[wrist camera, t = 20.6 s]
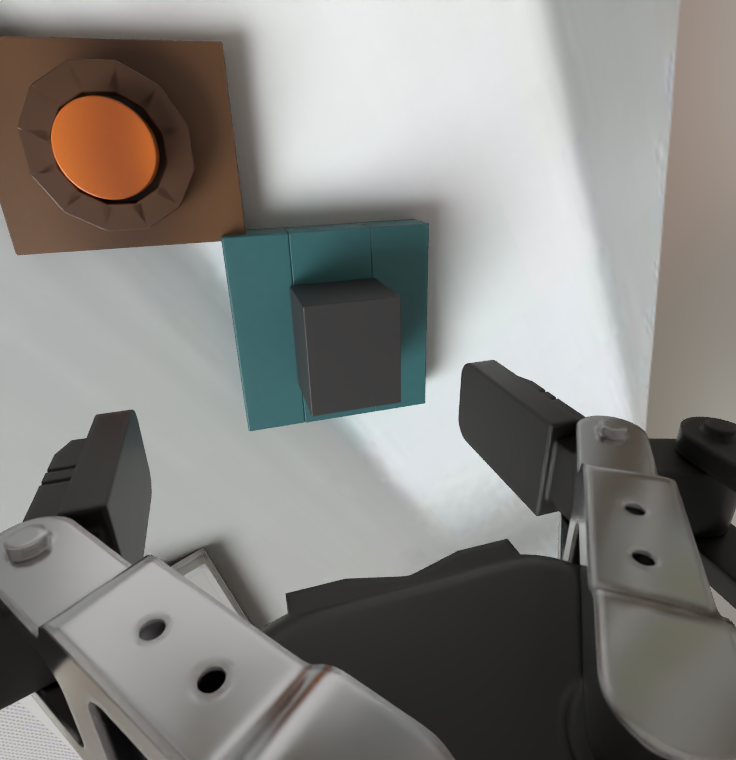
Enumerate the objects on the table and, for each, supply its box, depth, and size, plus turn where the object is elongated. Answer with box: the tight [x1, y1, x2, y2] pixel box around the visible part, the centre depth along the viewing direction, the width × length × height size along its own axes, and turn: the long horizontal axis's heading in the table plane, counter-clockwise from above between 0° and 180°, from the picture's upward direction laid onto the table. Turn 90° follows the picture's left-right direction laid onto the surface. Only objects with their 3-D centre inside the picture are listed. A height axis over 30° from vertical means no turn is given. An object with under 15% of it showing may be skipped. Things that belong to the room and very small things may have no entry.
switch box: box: [0, 36, 246, 255], centre depth 24 cm, size 11×9×4 cm
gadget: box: [0, 548, 250, 760], centre depth 36 cm, size 23×15×4 cm, turn 107°
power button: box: [51, 95, 160, 200], centre depth 22 cm, size 4×4×2 cm
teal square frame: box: [221, 219, 429, 431], centre depth 31 cm, size 12×12×2 cm
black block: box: [289, 278, 401, 416], centre depth 29 cm, size 5×6×7 cm
